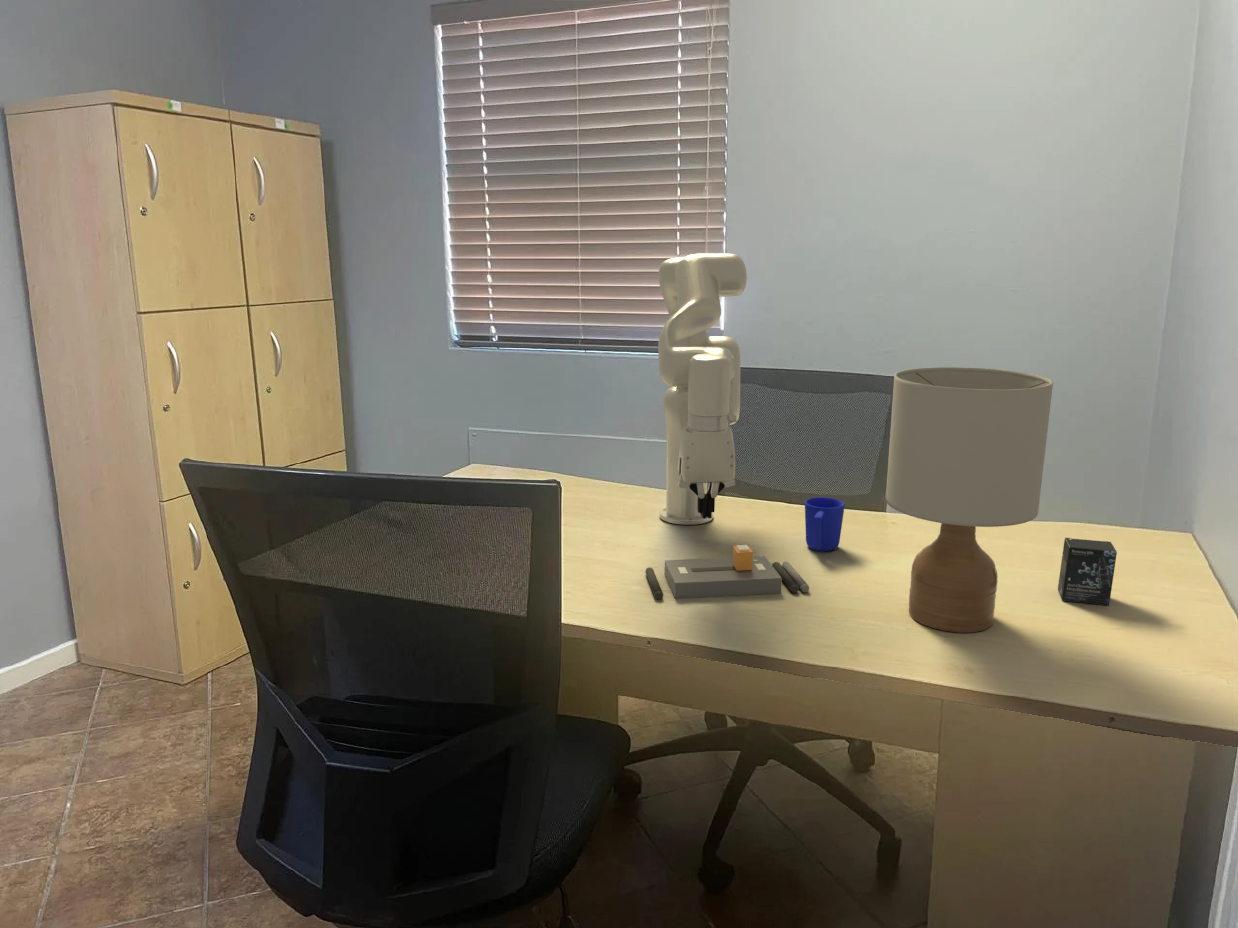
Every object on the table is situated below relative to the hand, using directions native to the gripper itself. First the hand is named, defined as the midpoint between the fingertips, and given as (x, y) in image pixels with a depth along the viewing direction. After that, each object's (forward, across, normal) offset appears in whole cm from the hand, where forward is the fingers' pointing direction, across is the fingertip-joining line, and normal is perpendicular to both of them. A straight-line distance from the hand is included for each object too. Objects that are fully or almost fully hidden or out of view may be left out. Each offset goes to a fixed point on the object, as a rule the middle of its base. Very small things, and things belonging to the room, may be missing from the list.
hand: (705, 515), depth 171 cm
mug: (+14, -28, -14) cm, 34 cm away
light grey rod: (+13, -17, +2) cm, 22 cm away
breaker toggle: (+10, -7, +2) cm, 12 cm away
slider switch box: (+13, -3, +2) cm, 14 cm away
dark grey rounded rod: (+13, +10, +2) cm, 17 cm away
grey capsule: (+13, -15, +2) cm, 20 cm away
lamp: (+12, -39, +22) cm, 47 cm away
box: (+13, -67, +18) cm, 70 cm away
